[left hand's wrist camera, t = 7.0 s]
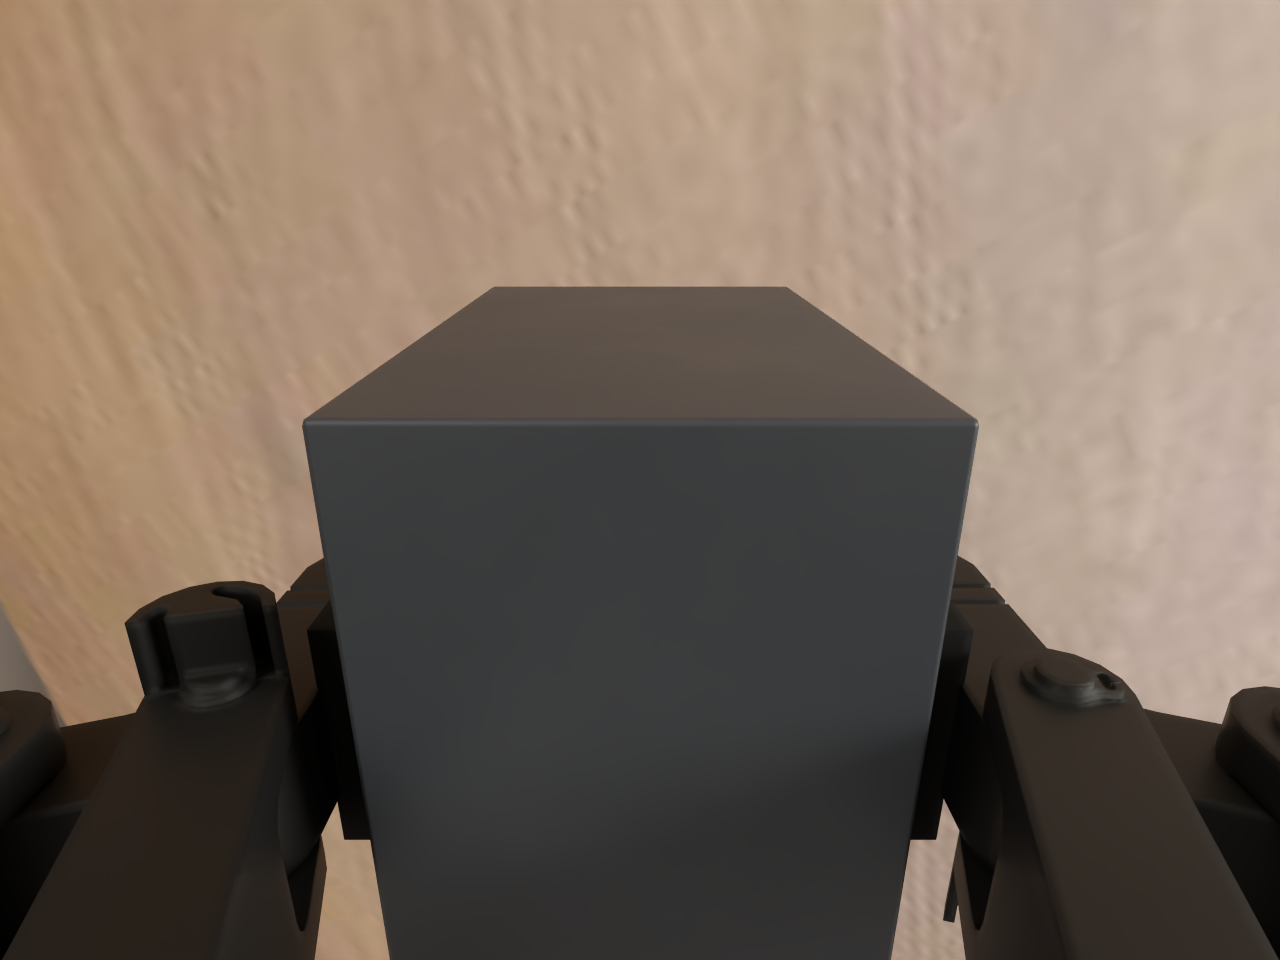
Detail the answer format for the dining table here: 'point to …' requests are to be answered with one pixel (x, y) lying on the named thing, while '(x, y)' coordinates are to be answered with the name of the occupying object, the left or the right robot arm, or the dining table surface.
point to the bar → (640, 623)
